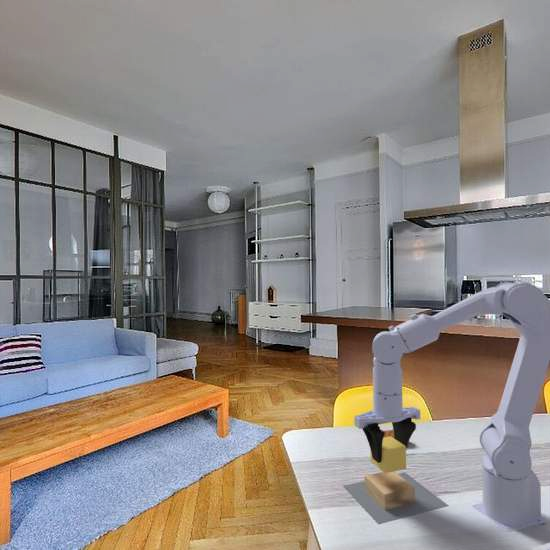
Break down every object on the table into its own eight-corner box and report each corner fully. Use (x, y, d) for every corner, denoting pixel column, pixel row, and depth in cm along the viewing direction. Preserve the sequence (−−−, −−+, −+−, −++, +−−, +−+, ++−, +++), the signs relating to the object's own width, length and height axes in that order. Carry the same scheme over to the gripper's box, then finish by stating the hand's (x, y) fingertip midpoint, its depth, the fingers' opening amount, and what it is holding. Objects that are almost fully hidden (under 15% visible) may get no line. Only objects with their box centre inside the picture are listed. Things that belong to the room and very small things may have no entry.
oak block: (392, 483, 80) (392, 469, 80) (414, 502, 73) (414, 487, 73) (364, 490, 78) (364, 475, 78) (384, 510, 71) (384, 494, 71)
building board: (405, 474, 85) (405, 472, 85) (448, 508, 72) (448, 505, 72) (342, 488, 79) (342, 485, 79) (378, 527, 67) (378, 523, 67)
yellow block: (391, 457, 79) (390, 436, 79) (406, 468, 74) (405, 446, 74) (370, 461, 77) (370, 439, 77) (385, 473, 73) (384, 450, 73)
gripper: (404, 382, 82) (405, 443, 82) (346, 389, 77) (347, 454, 77) (427, 391, 75) (428, 458, 75) (364, 400, 70) (365, 471, 70)
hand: (388, 457), depth 76 cm, fingers closed on yellow block, 5 cm apart
